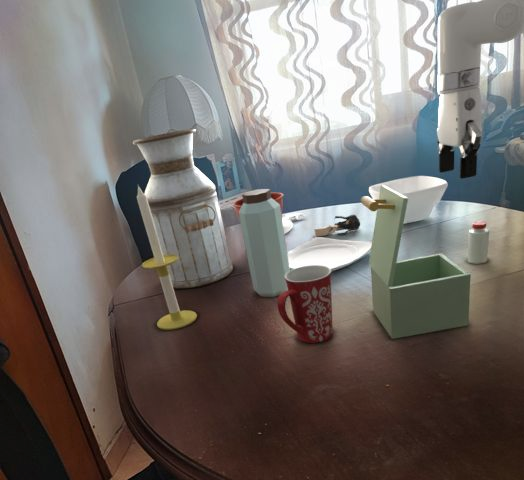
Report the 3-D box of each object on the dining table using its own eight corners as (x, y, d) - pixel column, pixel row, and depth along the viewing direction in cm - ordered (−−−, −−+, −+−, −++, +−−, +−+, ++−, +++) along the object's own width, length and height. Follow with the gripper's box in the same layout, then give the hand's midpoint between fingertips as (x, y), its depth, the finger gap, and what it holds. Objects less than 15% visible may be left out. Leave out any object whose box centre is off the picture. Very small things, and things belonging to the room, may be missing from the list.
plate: (264, 270, 135) (262, 261, 134) (316, 243, 149) (315, 235, 148) (331, 281, 119) (330, 271, 118) (383, 250, 133) (382, 241, 131)
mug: (315, 320, 100) (308, 261, 94) (346, 331, 94) (340, 268, 87) (271, 344, 94) (260, 283, 88) (301, 357, 88) (291, 292, 81)
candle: (188, 307, 120) (153, 177, 104) (203, 319, 111) (166, 180, 96) (152, 321, 116) (110, 188, 101) (164, 334, 108) (120, 191, 93)
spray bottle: (255, 238, 167) (282, 219, 186) (283, 237, 162) (308, 218, 181) (254, 230, 166) (281, 212, 184) (282, 228, 161) (307, 210, 179)
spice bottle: (484, 256, 116) (486, 219, 111) (489, 262, 112) (492, 224, 108) (465, 258, 117) (467, 222, 112) (470, 264, 113) (472, 226, 108)
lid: (384, 185, 87) (357, 184, 87) (408, 198, 76) (377, 197, 75) (372, 264, 94) (347, 263, 94) (392, 286, 83) (363, 286, 83)
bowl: (363, 221, 163) (361, 187, 157) (422, 207, 164) (422, 173, 159) (389, 235, 143) (388, 197, 138) (456, 220, 145) (457, 182, 140)
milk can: (247, 272, 136) (218, 125, 117) (180, 296, 128) (138, 142, 109) (214, 257, 155) (184, 128, 136) (154, 276, 148) (114, 143, 129)
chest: (440, 299, 99) (441, 253, 94) (468, 325, 88) (470, 274, 83) (373, 311, 100) (370, 266, 95) (392, 339, 88) (389, 289, 83)
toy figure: (318, 241, 151) (363, 230, 151) (315, 222, 149) (360, 211, 149) (315, 238, 158) (358, 228, 158) (311, 220, 156) (355, 209, 155)
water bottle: (293, 294, 115) (278, 192, 103) (254, 301, 116) (234, 200, 104) (291, 280, 124) (276, 184, 112) (254, 286, 125) (236, 191, 113)
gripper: (501, 75, 82) (495, 175, 90) (456, 80, 97) (455, 165, 105) (460, 84, 82) (458, 183, 90) (421, 87, 97) (423, 172, 105)
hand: (456, 174), depth 98 cm, fingers open, 9 cm apart
